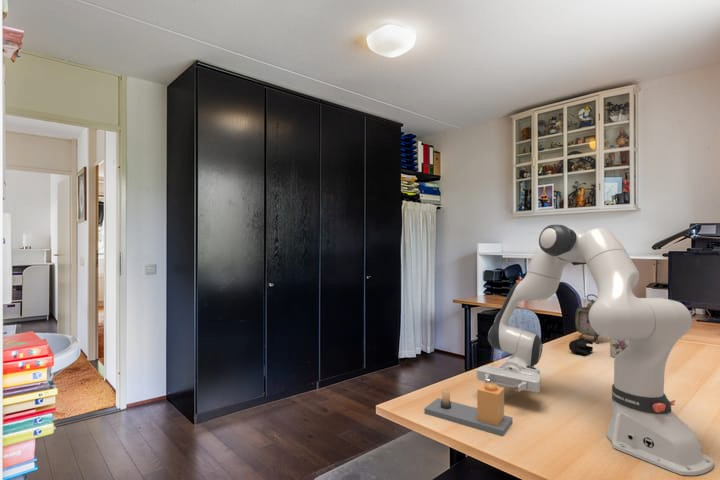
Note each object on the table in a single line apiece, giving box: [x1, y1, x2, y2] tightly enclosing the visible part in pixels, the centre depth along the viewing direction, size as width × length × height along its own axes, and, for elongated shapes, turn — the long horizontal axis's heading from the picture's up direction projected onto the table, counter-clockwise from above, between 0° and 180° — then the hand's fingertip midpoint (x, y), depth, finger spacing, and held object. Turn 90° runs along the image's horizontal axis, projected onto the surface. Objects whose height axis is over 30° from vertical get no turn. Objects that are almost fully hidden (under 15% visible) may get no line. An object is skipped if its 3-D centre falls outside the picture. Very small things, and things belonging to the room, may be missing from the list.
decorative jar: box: [609, 338, 631, 359], centre depth 180 cm, size 12×12×18 cm
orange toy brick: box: [476, 382, 505, 426], centre depth 116 cm, size 6×6×10 cm
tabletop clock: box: [574, 293, 601, 344], centre depth 212 cm, size 14×9×25 cm, turn 17°
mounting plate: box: [423, 389, 513, 437], centre depth 120 cm, size 24×10×6 cm, turn 54°
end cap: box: [568, 336, 594, 357], centre depth 189 cm, size 10×7×7 cm
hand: (501, 385), depth 125 cm, fingers open, 8 cm apart
